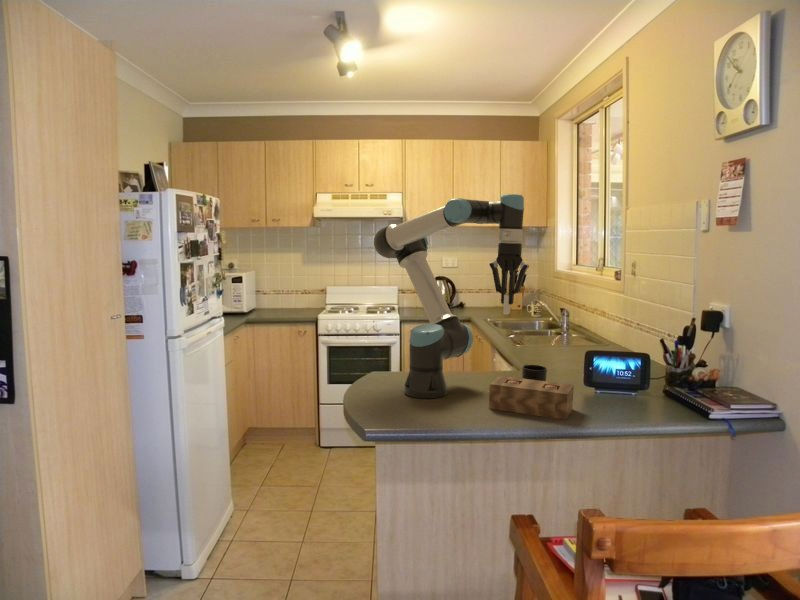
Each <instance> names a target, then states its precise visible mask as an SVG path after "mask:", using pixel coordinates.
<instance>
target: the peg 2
mask: <svg viewBox="0 0 800 600" xmlns="http://www.w3.org/2000/svg"><path fill="white" fill-rule="evenodd" d="M545 388H547V389H555V390H557V387H556V386H553V385H546V386H545Z"/></svg>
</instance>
